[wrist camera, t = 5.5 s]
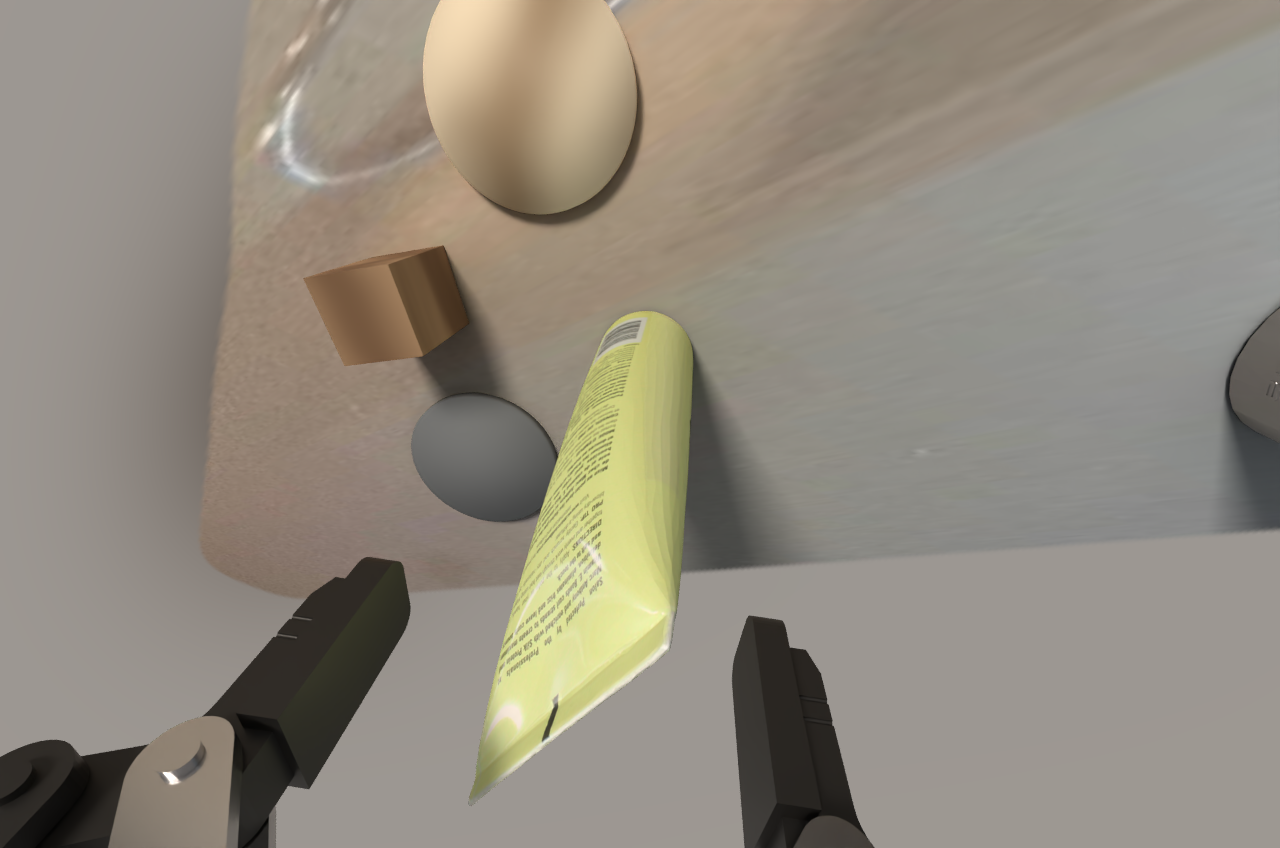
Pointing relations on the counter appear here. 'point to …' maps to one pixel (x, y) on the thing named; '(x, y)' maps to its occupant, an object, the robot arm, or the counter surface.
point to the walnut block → (389, 305)
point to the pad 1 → (531, 98)
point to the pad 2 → (484, 456)
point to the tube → (598, 548)
